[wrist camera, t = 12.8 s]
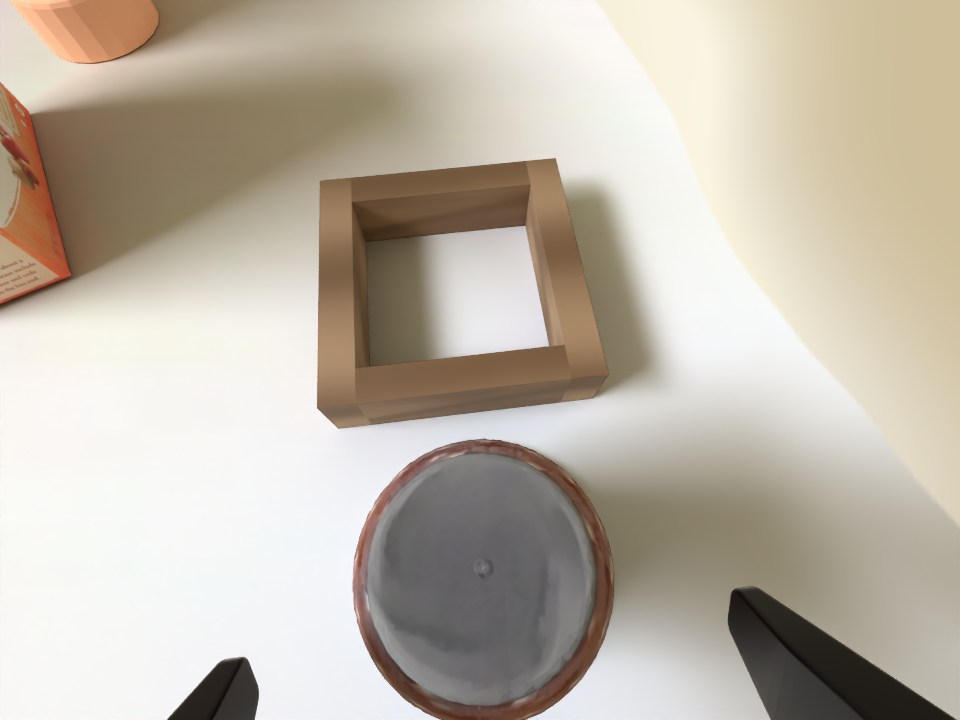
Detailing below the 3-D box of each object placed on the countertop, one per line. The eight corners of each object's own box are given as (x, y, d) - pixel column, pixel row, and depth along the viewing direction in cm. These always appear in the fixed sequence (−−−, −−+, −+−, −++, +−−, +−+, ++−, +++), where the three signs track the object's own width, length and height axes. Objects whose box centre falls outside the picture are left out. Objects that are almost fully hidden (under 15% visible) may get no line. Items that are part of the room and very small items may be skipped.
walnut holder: (592, 398, 22) (608, 374, 19) (338, 428, 21) (317, 408, 19) (548, 200, 27) (555, 158, 24) (337, 221, 26) (320, 180, 23)
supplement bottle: (545, 479, 20) (615, 380, 9) (577, 644, 17) (718, 755, 7) (400, 500, 19) (308, 421, 9) (412, 671, 17) (306, 828, 7)
